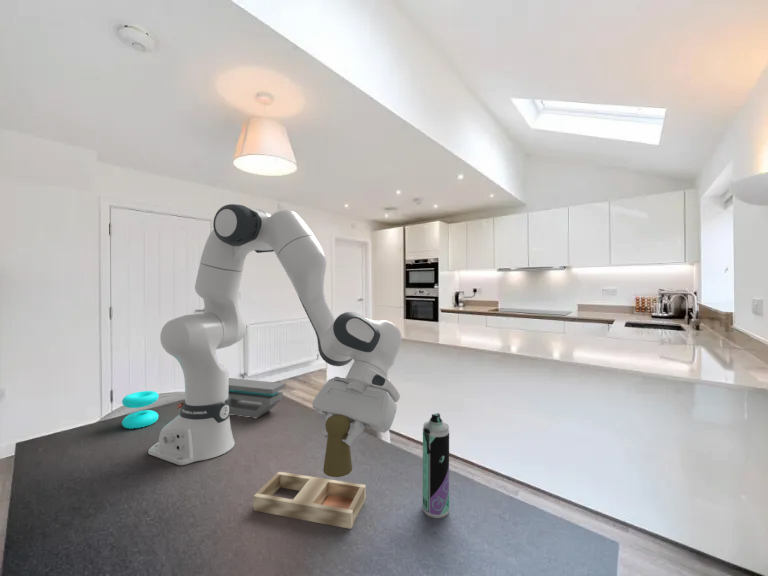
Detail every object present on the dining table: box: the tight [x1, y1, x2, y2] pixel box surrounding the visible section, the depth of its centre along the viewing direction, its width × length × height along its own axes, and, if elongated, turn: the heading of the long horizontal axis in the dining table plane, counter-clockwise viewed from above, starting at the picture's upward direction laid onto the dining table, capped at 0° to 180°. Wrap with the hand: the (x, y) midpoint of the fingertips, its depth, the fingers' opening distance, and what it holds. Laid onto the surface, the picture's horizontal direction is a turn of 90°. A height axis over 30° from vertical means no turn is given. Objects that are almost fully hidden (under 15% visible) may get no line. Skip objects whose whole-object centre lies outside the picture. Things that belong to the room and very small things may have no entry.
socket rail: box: [253, 471, 367, 530], centre depth 71 cm, size 22×10×3 cm, turn 76°
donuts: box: [121, 390, 160, 430], centre depth 113 cm, size 10×10×10 cm
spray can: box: [422, 412, 450, 519], centre depth 70 cm, size 6×6×20 cm
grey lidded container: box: [229, 377, 286, 418], centre depth 123 cm, size 25×8×11 cm, turn 74°
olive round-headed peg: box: [322, 415, 353, 478], centre depth 70 cm, size 6×6×11 cm
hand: (335, 440), depth 69 cm, fingers closed on olive round-headed peg, 4 cm apart
